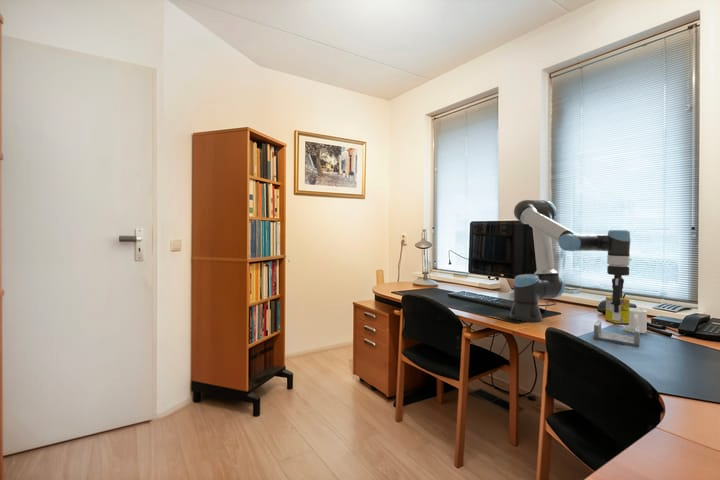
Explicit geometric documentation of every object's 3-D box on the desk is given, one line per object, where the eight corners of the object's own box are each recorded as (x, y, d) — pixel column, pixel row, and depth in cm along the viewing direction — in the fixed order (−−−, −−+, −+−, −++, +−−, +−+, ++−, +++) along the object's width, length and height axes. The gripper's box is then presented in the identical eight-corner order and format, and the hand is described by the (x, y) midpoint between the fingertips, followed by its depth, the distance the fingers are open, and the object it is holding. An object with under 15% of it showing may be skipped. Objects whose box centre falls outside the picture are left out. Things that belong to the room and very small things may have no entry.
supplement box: (629, 325, 141) (630, 299, 140) (615, 325, 141) (615, 299, 140) (618, 321, 147) (619, 296, 146) (604, 321, 147) (605, 296, 146)
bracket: (593, 338, 144) (594, 325, 144) (597, 332, 153) (597, 319, 153) (638, 346, 134) (639, 332, 134) (639, 339, 143) (640, 326, 143)
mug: (647, 337, 147) (648, 314, 147) (623, 333, 152) (624, 311, 152) (645, 331, 157) (646, 309, 156) (623, 327, 162) (623, 306, 161)
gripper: (628, 268, 133) (626, 324, 133) (630, 264, 148) (629, 315, 149) (604, 266, 138) (603, 321, 138) (609, 263, 153) (608, 312, 154)
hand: (617, 318), depth 144 cm, fingers closed on supplement box, 8 cm apart
